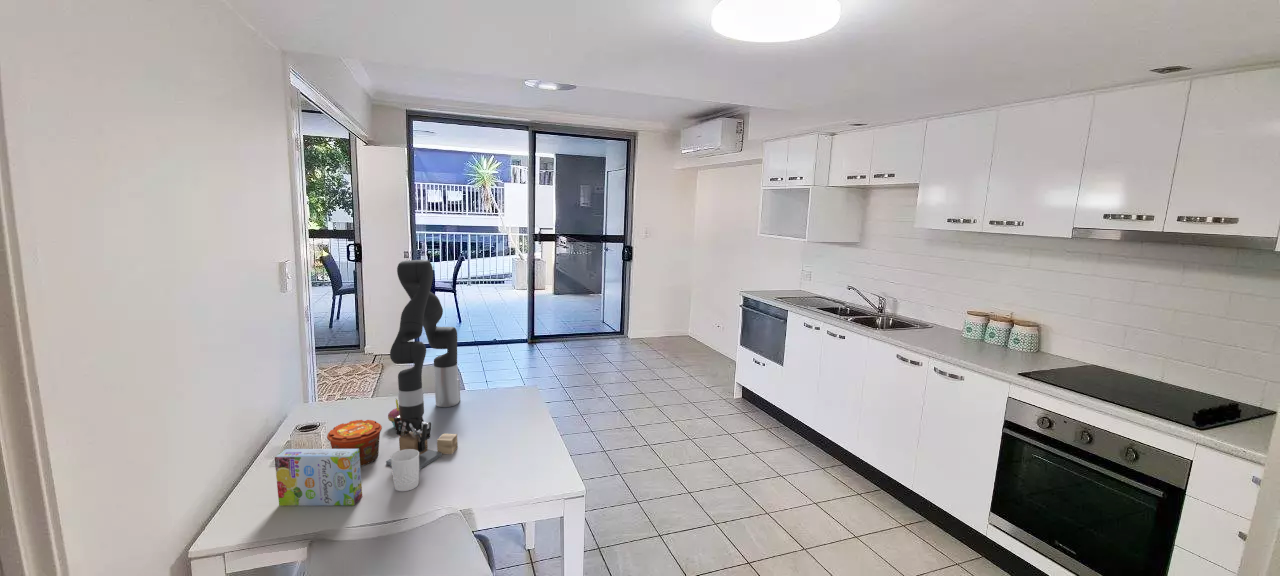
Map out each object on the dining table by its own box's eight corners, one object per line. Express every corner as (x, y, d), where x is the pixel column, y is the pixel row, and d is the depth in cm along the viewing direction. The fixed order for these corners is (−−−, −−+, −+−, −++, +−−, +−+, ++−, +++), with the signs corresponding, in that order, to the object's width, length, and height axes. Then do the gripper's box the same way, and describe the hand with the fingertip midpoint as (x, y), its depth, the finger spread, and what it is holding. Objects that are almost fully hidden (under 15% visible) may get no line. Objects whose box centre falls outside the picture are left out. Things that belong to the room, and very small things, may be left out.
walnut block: (414, 447, 181) (413, 430, 180) (427, 450, 178) (426, 433, 177) (400, 454, 175) (399, 437, 174) (413, 458, 173) (413, 441, 172)
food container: (361, 473, 168) (358, 441, 167) (317, 467, 171) (314, 436, 170) (393, 450, 184) (392, 421, 182) (353, 445, 187) (351, 416, 185)
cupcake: (406, 431, 199) (404, 400, 197) (384, 430, 199) (381, 400, 197) (416, 421, 207) (414, 392, 205) (395, 421, 207) (393, 391, 205)
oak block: (443, 447, 187) (442, 433, 186) (457, 447, 187) (457, 434, 186) (437, 453, 182) (437, 440, 181) (452, 454, 182) (451, 440, 181)
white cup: (412, 476, 167) (411, 446, 165) (425, 485, 162) (424, 454, 161) (387, 486, 161) (385, 455, 159) (400, 495, 156) (398, 464, 155)
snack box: (363, 495, 156) (360, 447, 154) (354, 506, 150) (350, 456, 148) (289, 495, 155) (285, 447, 153) (277, 506, 150) (272, 456, 147)
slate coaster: (414, 448, 185) (414, 445, 185) (441, 455, 180) (441, 452, 180) (386, 464, 174) (386, 461, 174) (414, 472, 170) (414, 468, 169)
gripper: (436, 400, 175) (439, 448, 177) (403, 394, 180) (406, 440, 183) (419, 408, 168) (422, 458, 170) (385, 401, 173) (388, 450, 176)
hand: (413, 449), depth 177 cm, fingers closed on walnut block, 6 cm apart
